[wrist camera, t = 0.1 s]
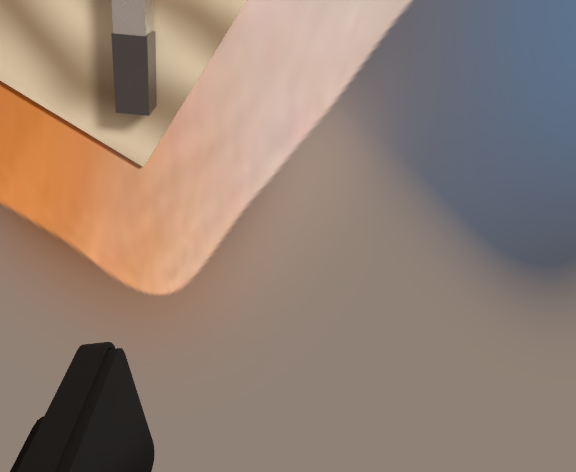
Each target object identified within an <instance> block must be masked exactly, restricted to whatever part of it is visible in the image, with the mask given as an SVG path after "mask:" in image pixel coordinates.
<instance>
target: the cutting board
mask: <svg viewBox="0 0 576 472" xmlns="http://www.w3.org/2000/svg"><path fill="white" fill-rule="evenodd" d="M245 2H246V0H153V23H154V31H155V39H156V91H157V106H156V108H155V109H154V110H153V111H152V113H151V114H150V115H149V116H146V115H134V114H123V113H116V110H115V91H114V73H113V55H112V36H111V33H113V21H112V2H111V0H0V81H2V82H3V83H5V84H7V85H8V86H10V87H12V88H13V89H15V90H16V91H18V92H20V93H21V94H23V95H25V96H26V97H28V98H30V99H31V100H33V101H35V102H36V103H38V104H40V105H41V106H43V107H45V108H46V109H48V110H50V111H51V112H53V113H55V114H56V115H58V116H59V117H61V118H63V119H64V120H66V121H68V122H69V123H71V124H73V125H74V126H76V127H78V128H79V129H81V130H83V131H84V132H86V133H88V134H89V135H91V136H93V137H94V138H96V139H98V140H99V141H101V142H102V143H104V144H106V145H107V146H109V147H111V148H112V149H114V150H116V151H117V152H119V153H121V154H122V155H124V156H126V157H127V158H129V159H131V160H132V161H134V162H136V163H137V164H139V165H140V166H142V167H144V165H145V164H146V162H147V160H148V159H149V157H150V155H151V154H152V152H153V151H154V149H155V147H156V146H157V144H158V143H159V141H160V139H161V138H162V136H163V134H164V133H165V131H166V130H167V128H168V126H169V125H170V123H171V122H172V120H173V118H174V117H175V115H176V113H177V112H178V110H179V109H180V107H181V105H182V104H183V102H184V101H185V99H186V97H187V96H188V94H189V92H190V91H191V89H192V88H193V86H194V84H195V83H196V81H197V80H198V78H199V76H200V75H201V73H202V71H203V70H204V68H205V67H206V65H207V63H208V62H209V60H210V59H211V57H212V55H213V54H214V52H215V50H216V49H217V47H218V46H219V44H220V42H221V41H222V39H223V38H224V36H225V34H226V33H227V31H228V29H229V28H230V26H231V25H232V23H233V21H234V20H235V18H236V17H237V15H238V13H239V12H240V10H241V8H242V7H243V5H244V4H245Z"/></svg>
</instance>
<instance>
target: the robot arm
mask: <svg viewBox="0 0 576 472" xmlns="http://www.w3.org/2000/svg"><path fill="white" fill-rule="evenodd" d="M153 462H154V444H153V440H152V437H151V434H150V431H149V428H148V425H147V422H146V419H145V416H144V412H143V409H142V406H141V403H140V400H139V396H138V393H137V390H136V387H135V384H134V381H133V378H132V374H131V371H130V368H129V365H128V362H127V359H126V356H125V353H124V351H123V349H121V348H117V349H115V346H114V345H113V344H112V343H111V342H104V343H94V344H85V345H81V346H80V347H79V349H78V350H77V352H76V354H75V356H74V358H73V360H72V362H71V365H70V366H69V368H68V370H67V372H66V374H65V376H64V378H63V380H62V382H61V384H60V386H59V388H58V390H57V393H56V394H55V397H54V398H53V400H52V402H51V404H50V406H49V408H48V410H47V412H46V414H45V416H44V417H41V418H40V419H39V420H37V422H36V424H35V425H34V426H33V428H32V430H31V432H30V434H29V436H28V438H27V440H26V442H25V444H24V445H23V447H22V449H21V451H20V453H19V455H18V457H17V459H16V461H15V463H14V465H13V467H12V469H11V471H10V472H151V470H152V466H153Z"/></svg>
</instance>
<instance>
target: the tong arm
mask: <svg viewBox="0 0 576 472" xmlns="http://www.w3.org/2000/svg"><path fill="white" fill-rule="evenodd" d="M111 2H112V21H113V33H111V36H112V55H113V73H114V91H115V110H116V113H123V114H134V115H146V116H149V115H150V114H151V113H152V111H153V110H154V109H155V108H156V106H157V91H156V39H155V31H154V23H153V0H111Z"/></svg>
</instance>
